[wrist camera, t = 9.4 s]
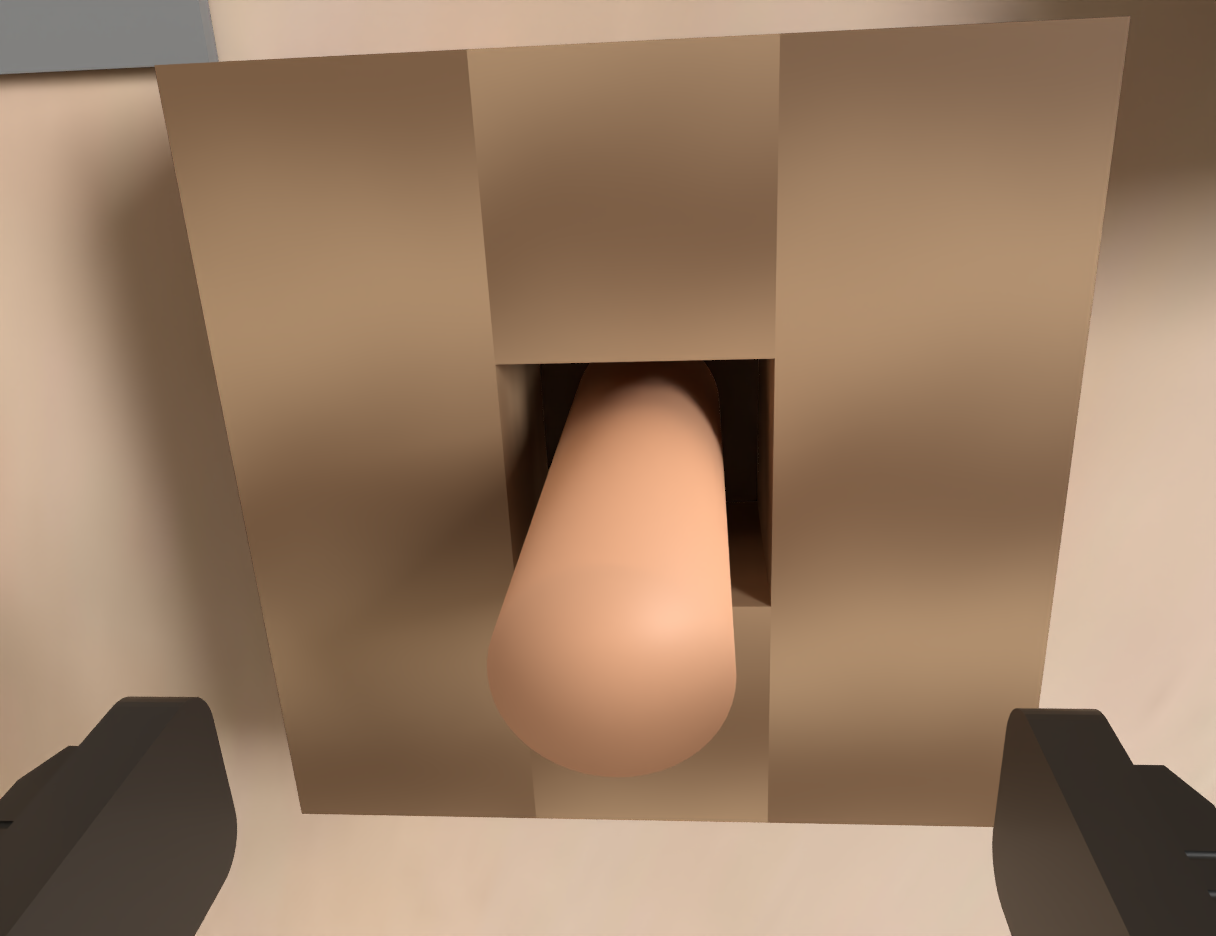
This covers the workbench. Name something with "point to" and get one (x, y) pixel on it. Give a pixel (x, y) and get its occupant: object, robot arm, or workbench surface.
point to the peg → (624, 580)
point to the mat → (103, 34)
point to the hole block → (659, 331)
